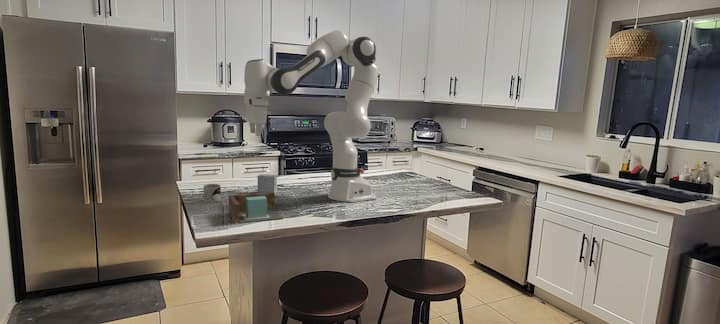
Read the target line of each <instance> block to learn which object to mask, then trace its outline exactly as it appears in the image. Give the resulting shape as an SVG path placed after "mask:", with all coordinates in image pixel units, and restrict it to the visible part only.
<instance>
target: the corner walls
mask: <svg viewBox="0 0 720 324" xmlns="http://www.w3.org/2000/svg"><path fill="white" fill-rule="evenodd" d="M258 196H265V197H266V198H267V210H271V209H275V200H276V198H275V196H276V193H274V192H271V193H258V192H257V193H245V194H244V193H243V194H230V195H228V214H229V216H230V217H231V220H232V221H233V222H234V224H235V223H238V224H241V223H240V212H246V197H258ZM275 210H276V209H275Z"/></svg>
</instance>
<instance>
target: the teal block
mask: <svg viewBox="0 0 720 324" xmlns="http://www.w3.org/2000/svg"><path fill="white" fill-rule="evenodd" d="M246 216H247V218H259V217H267V198H266V197H265V196H258V197H246Z"/></svg>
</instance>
